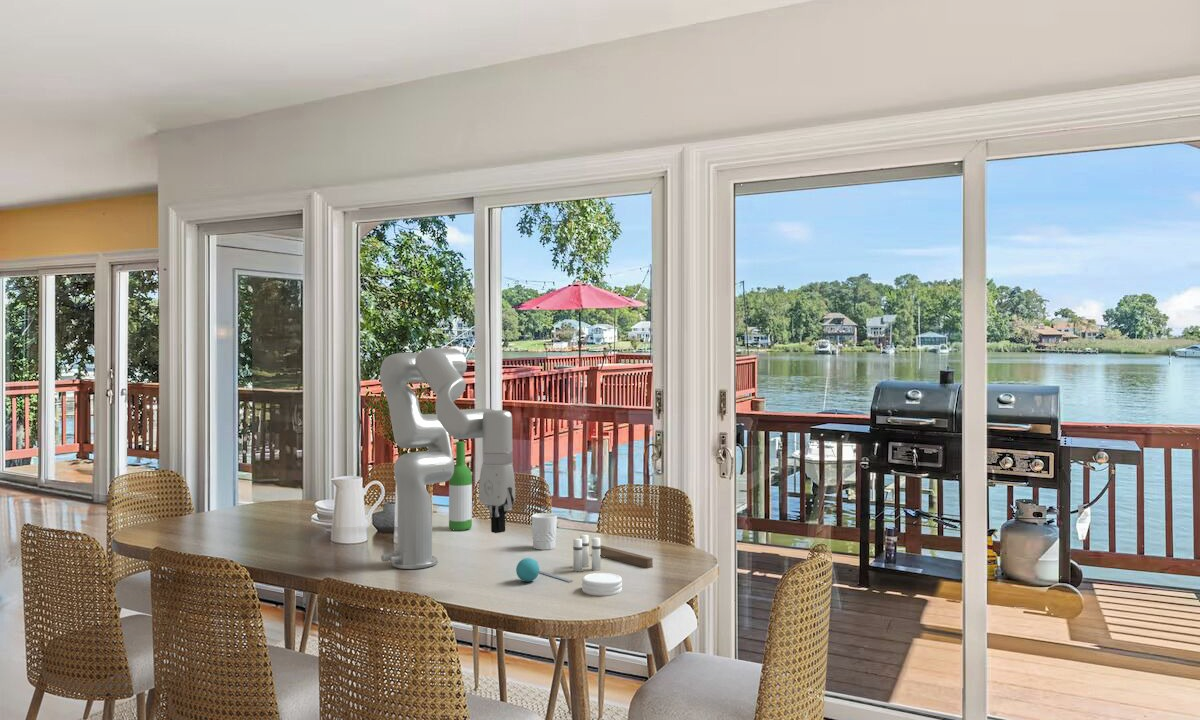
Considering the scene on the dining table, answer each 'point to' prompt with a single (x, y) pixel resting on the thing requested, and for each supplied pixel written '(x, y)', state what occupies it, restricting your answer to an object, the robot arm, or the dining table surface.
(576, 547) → the pin front
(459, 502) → the wine bottle
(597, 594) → the coaster
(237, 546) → the dining table surface
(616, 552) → the backstop
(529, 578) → the ball
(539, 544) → the white cup
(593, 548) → the pin back right
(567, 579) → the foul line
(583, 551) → the pin back left
